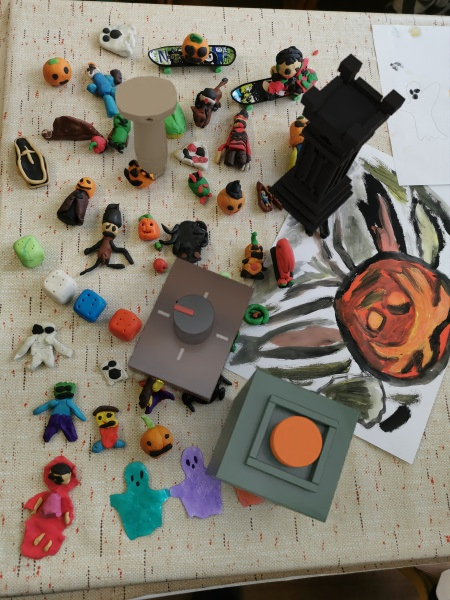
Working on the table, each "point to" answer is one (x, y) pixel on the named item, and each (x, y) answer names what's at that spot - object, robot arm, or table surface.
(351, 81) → the chess piece
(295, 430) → the button
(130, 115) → the handle
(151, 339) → the panel
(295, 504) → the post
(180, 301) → the knob
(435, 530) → the table surface
